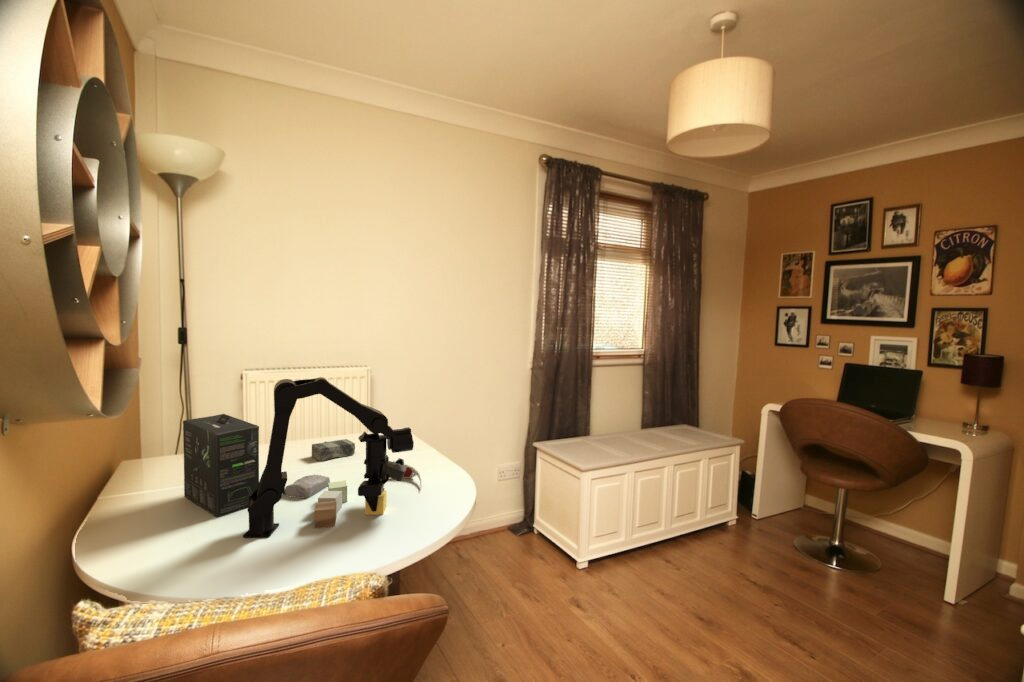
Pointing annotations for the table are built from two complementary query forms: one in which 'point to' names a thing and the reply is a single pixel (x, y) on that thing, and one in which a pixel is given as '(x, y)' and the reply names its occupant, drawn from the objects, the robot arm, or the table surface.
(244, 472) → the headset box
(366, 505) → the mustard cube
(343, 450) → the stone block
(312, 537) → the table surface
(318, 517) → the walnut cube
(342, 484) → the sage cube
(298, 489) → the stone block
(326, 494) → the grey cube
